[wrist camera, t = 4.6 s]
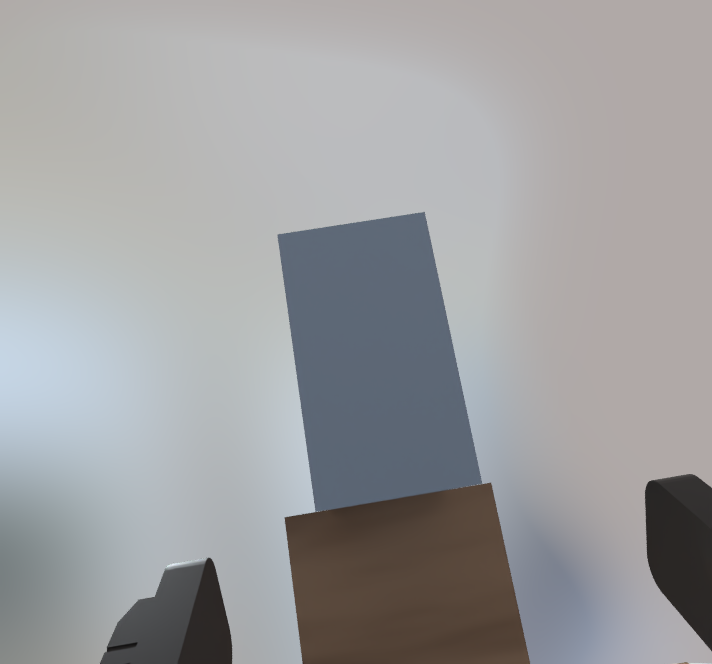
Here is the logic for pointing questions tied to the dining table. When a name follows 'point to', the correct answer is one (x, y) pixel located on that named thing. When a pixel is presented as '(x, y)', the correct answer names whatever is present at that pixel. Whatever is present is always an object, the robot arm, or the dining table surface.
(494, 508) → the pedestal
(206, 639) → the robot arm
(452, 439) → the rail
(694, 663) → the dining table surface
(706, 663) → the dining table surface
